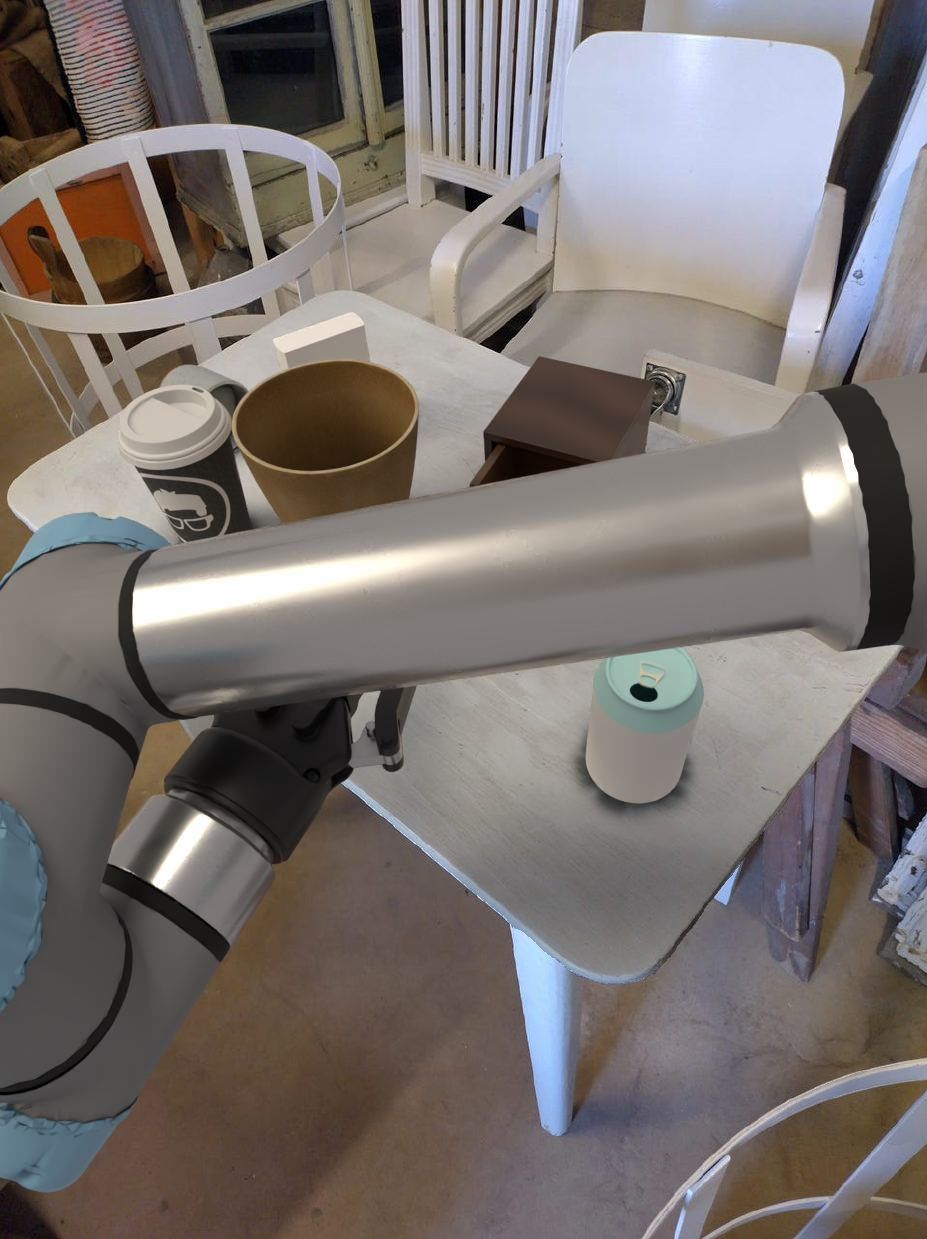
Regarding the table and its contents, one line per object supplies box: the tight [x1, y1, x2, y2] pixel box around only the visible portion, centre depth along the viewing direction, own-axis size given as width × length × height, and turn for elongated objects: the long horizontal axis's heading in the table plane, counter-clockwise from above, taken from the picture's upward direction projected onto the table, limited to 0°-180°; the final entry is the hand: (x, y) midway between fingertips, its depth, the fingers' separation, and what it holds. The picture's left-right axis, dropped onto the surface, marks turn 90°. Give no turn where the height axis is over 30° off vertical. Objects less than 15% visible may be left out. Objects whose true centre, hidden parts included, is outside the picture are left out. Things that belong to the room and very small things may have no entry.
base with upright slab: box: [272, 311, 371, 372], centre depth 84 cm, size 9×9×12 cm
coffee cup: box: [117, 385, 253, 543], centre depth 73 cm, size 10×10×15 cm
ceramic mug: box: [158, 364, 250, 450], centre depth 86 cm, size 11×8×8 cm
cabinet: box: [482, 355, 656, 465], centre depth 77 cm, size 13×12×10 cm
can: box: [585, 647, 705, 804], centre depth 56 cm, size 7×7×12 cm
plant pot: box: [232, 359, 420, 524], centre depth 71 cm, size 15×15×16 cm
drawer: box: [469, 443, 583, 487], centre depth 71 cm, size 16×10×8 cm, turn 154°
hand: (434, 527), depth 54 cm, fingers closed
